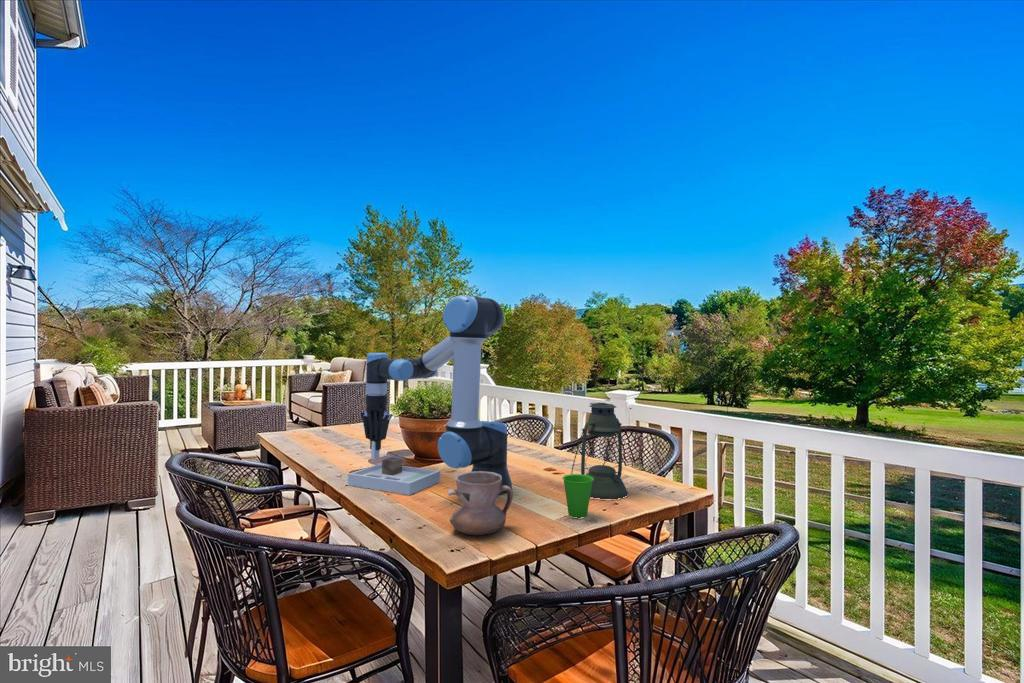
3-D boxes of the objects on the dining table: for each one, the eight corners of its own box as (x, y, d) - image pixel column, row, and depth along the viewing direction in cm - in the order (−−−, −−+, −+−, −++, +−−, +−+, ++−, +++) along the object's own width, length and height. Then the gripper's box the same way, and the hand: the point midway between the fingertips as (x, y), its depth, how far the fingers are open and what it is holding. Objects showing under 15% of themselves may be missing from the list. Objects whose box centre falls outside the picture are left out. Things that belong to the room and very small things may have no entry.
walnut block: (401, 472, 182) (402, 458, 182) (393, 475, 178) (393, 461, 178) (390, 470, 184) (391, 457, 184) (381, 473, 180) (382, 459, 180)
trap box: (440, 482, 179) (440, 470, 179) (409, 495, 162) (409, 483, 162) (382, 473, 190) (382, 463, 190) (348, 485, 173) (348, 473, 173)
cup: (595, 521, 140) (596, 482, 140) (563, 521, 140) (563, 482, 140) (591, 511, 149) (591, 474, 149) (560, 510, 149) (561, 473, 149)
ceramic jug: (451, 543, 124) (452, 486, 124) (442, 523, 137) (443, 471, 138) (520, 536, 129) (521, 481, 129) (505, 517, 143) (506, 467, 143)
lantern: (601, 505, 155) (602, 408, 155) (560, 491, 168) (561, 402, 169) (641, 493, 168) (642, 403, 168) (601, 481, 181) (601, 399, 182)
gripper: (397, 394, 185) (396, 458, 185) (369, 392, 190) (368, 454, 190) (383, 396, 178) (382, 462, 178) (355, 394, 184) (354, 458, 184)
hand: (375, 458), depth 184 cm, fingers closed
